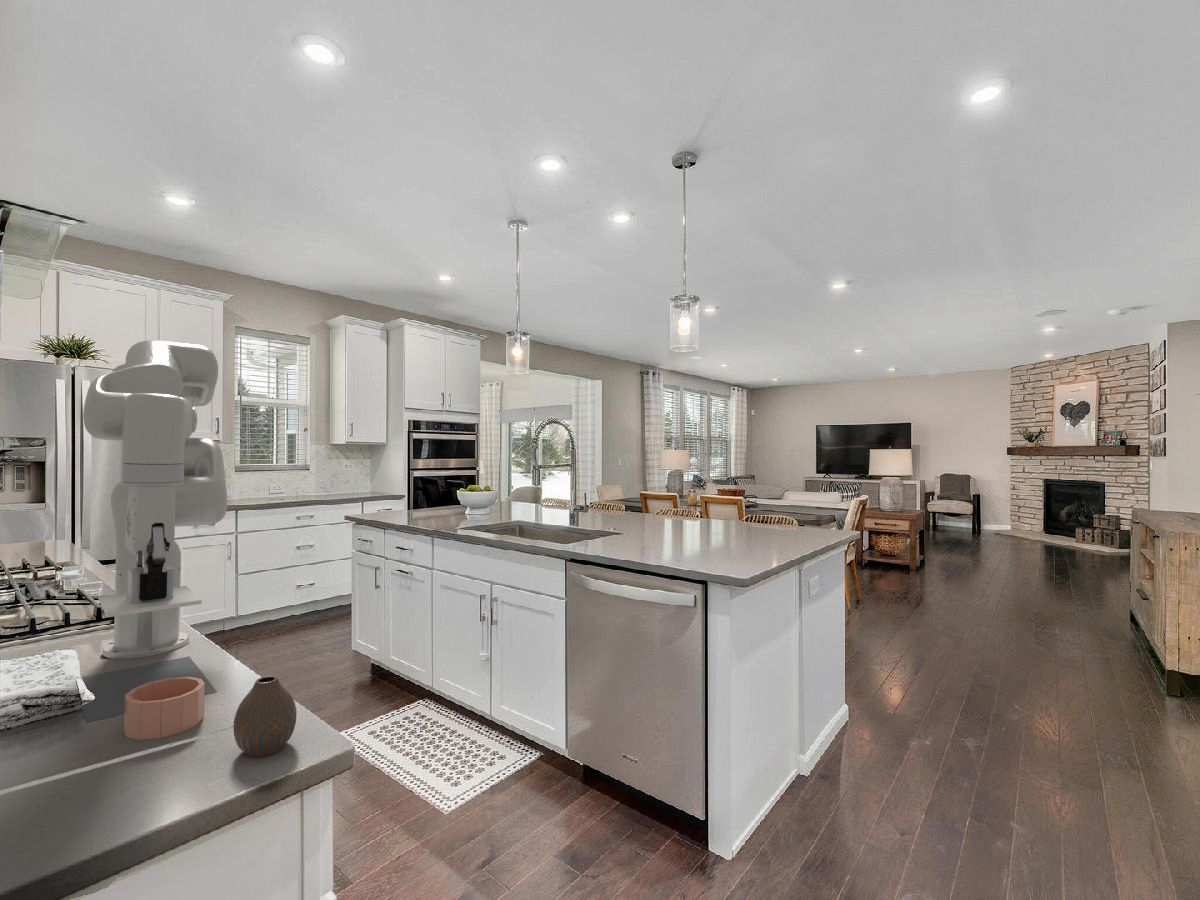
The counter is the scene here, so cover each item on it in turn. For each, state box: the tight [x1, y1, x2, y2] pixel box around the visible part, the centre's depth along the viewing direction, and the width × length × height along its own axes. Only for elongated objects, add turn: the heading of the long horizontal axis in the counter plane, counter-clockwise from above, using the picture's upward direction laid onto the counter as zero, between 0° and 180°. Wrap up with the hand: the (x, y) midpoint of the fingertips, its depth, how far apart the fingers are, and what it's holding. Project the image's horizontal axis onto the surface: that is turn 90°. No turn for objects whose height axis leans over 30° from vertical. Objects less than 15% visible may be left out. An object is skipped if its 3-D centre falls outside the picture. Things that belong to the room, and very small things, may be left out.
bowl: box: [123, 677, 206, 741], centre depth 79 cm, size 8×8×5 cm
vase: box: [232, 675, 298, 758], centre depth 74 cm, size 7×7×9 cm
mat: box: [81, 655, 218, 724], centre depth 91 cm, size 20×15×1 cm
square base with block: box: [98, 565, 203, 618], centre depth 89 cm, size 11×11×5 cm
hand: (150, 594), depth 89 cm, fingers closed on square base with block, 4 cm apart
